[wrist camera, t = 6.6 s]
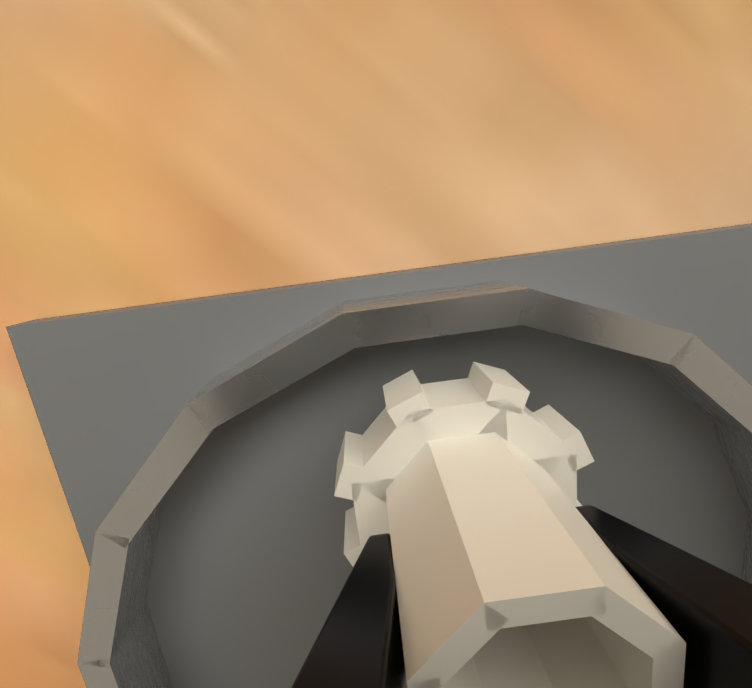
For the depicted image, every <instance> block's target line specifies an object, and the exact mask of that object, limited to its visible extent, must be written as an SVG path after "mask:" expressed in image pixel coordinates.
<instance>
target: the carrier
mask: <svg viewBox="0 0 752 688" xmlns="http://www.w3.org/2000/svg"><path fill="white" fill-rule="evenodd" d="M495 280H501V281H504V282H508V283H512V284H515V285H519V286H522V287H526V288H530V289H533V290H537V291H540V292H544V293H548V294H551V295H555V296H558V297H562V298H566V299H569V300H573V301H576V302H580V303H584V304H587V305H591V306H595V307H598V308H602V309H605V310H609V311H613V312H616V313H620V314H623V315H627V316H631V317H634V318H638V319H641V320H645V321H648V322H652V323H656V324H659V325H663V326H666V327H670V328H673V329H677V330H681V331H684V332H688V333H691V334H694V335H696V336H697V337H698V338H699V339H700V340H701V341H702V342H703V343H704V344H706V345H707V346H708V347H709V348H710V349H711V350H712V351H713V352H714V353H716V354H717V355H718V356H719V357H720V358H721V359H722V360H723V361H724V362H726V363H727V364H728V365H729V366H730V367H731V368H732V369H733V370H735V371H736V372H737V373H738V374H739V375H740V376H741V377H742V378H743V379H745V380H746V381H747V382H748V383H749V384H750V385H751V386H752V224H745V225H737V226H730V227H722V228H715V229H707V230H700V231H693V232H685V233H678V234H670V235H663V236H655V237H648V238H640V239H633V240H625V241H618V242H611V243H603V244H596V245H588V246H581V247H573V248H566V249H558V250H551V251H543V252H536V253H529V254H521V255H514V256H506V257H499V258H491V259H484V260H476V261H469V262H461V263H454V264H447V265H439V266H432V267H424V268H417V269H409V270H402V271H394V272H387V273H379V274H372V275H365V276H357V277H350V278H342V279H335V280H327V281H320V282H312V283H305V284H298V285H290V286H283V287H275V288H268V289H260V290H253V291H245V292H238V293H230V294H223V295H216V296H208V297H201V298H193V299H186V300H178V301H171V302H163V303H156V304H148V305H141V306H134V307H126V308H119V309H111V310H104V311H96V312H89V313H81V314H74V315H66V316H59V317H52V318H44V319H37V320H32V321H28V322H24V323H20V324H16V325H12V326H8V327H6V328H7V331H8V334H9V337H10V340H11V342H12V345H13V348H14V351H15V354H16V357H17V360H18V362H19V365H20V368H21V371H22V374H23V377H24V379H25V382H26V385H27V388H28V391H29V394H30V397H31V399H32V402H33V405H34V408H35V411H36V414H37V417H38V419H39V422H40V425H41V428H42V431H43V434H44V436H45V439H46V442H47V445H48V448H49V451H50V454H51V456H52V459H53V462H54V465H55V468H56V471H57V474H58V476H59V479H60V482H61V485H62V488H63V491H64V494H65V496H66V499H67V502H68V505H69V508H70V511H71V513H72V516H73V519H74V522H75V525H76V528H77V531H78V533H79V536H80V539H81V542H82V545H83V548H84V551H85V553H86V556H87V559H88V562H89V565H90V567H91V560H92V553H93V545H94V538H95V532H96V530H97V529H98V527H99V526H100V525H101V523H102V522H103V520H104V519H105V518H106V516H107V515H108V513H109V512H110V511H111V509H112V508H113V506H114V505H115V504H116V502H117V501H118V499H119V498H120V497H121V495H122V494H123V492H124V491H125V490H126V488H127V487H128V485H129V484H130V483H131V481H132V480H133V478H134V477H135V476H136V474H137V473H138V471H139V470H140V469H141V467H142V466H143V464H144V463H145V462H146V460H147V459H148V457H149V456H150V455H151V453H152V452H153V450H154V449H155V448H156V446H157V445H158V443H159V442H160V441H161V439H162V438H163V436H164V435H165V434H166V432H167V431H168V429H169V428H170V427H171V425H172V424H173V422H174V421H175V420H176V418H177V417H178V415H179V414H180V413H181V411H182V410H183V408H184V407H185V406H186V404H187V403H188V402H189V401H190V400H191V399H192V398H193V397H194V396H195V395H196V394H197V393H198V392H199V391H201V390H202V389H203V388H204V387H205V386H206V385H207V384H208V383H209V382H210V381H211V380H212V379H213V378H214V377H215V376H217V375H218V374H220V373H222V372H223V371H225V370H227V369H229V368H230V367H232V366H234V365H235V364H237V363H239V362H241V361H242V360H244V359H246V358H248V357H249V356H251V355H253V354H254V353H256V352H258V351H260V350H261V349H263V348H265V347H266V346H268V345H270V344H272V343H273V342H275V341H277V340H278V339H280V338H282V337H284V336H285V335H287V334H289V333H290V332H292V331H294V330H296V329H297V328H299V327H301V326H302V325H304V324H306V323H308V322H309V321H311V320H313V319H314V318H316V317H318V316H320V315H321V314H323V313H325V312H326V311H328V310H330V309H332V308H333V307H335V306H337V305H339V304H340V303H342V302H344V301H346V300H354V299H361V298H369V297H376V296H383V295H391V294H398V293H406V292H413V291H421V290H428V289H435V288H443V287H450V286H458V285H465V284H472V283H480V282H487V281H495ZM473 362H477V363H481V364H484V365H488V366H492V367H496V368H500V369H504V370H506V371H507V372H508V373H509V374H510V375H511V376H513V377H514V378H515V379H516V380H517V381H518V382H519V383H521V384H522V385H523V386H524V387H525V388H526V389H527V390H528V391H530V394H529V396H528V399H527V402H526V404H525V407H527V408H528V409H529V410H531V411H532V412H535V411H537V410H539V409H541V408H543V407H544V406H546V405H548V404H549V405H550V406H551V407H552V408H553V409H555V410H556V411H557V412H558V413H559V414H560V415H562V416H563V417H564V418H565V419H566V420H567V421H569V422H570V423H571V424H572V425H573V426H574V427H576V428H577V429H578V430H579V431H580V432H581V434H582V436H583V438H584V440H585V443H586V445H587V447H588V449H589V451H590V453H591V455H592V457H593V459H594V462H592V463H590V464H588V465H586V466H584V467H583V468H581V469H579V470H577V500H578V501H579V502H580V504H581V505H582V506H584V505H591V506H594V507H596V508H598V509H600V510H602V511H604V512H606V513H608V514H610V515H612V516H614V517H616V518H619V519H621V520H623V521H625V522H627V523H629V524H631V525H633V526H635V527H637V528H639V529H641V530H643V531H645V532H647V533H649V534H651V535H653V536H655V537H657V538H659V539H661V540H663V541H665V542H668V543H670V544H672V545H674V546H676V547H678V548H680V549H682V550H684V551H686V552H688V553H690V554H692V555H694V556H696V557H698V558H700V559H702V560H704V561H706V562H708V563H710V564H712V565H714V566H716V567H719V568H721V569H723V570H725V571H727V572H729V573H731V574H733V575H735V576H737V577H739V578H741V574H742V564H743V554H744V544H745V534H746V524H747V513H746V510H745V508H744V505H743V503H742V500H741V497H740V495H739V492H738V490H737V487H736V485H735V482H734V480H733V477H732V475H731V472H730V470H729V467H728V465H727V462H726V460H725V457H724V455H723V452H722V450H721V447H720V445H719V442H718V440H717V437H716V435H715V432H714V430H713V427H712V425H711V422H710V420H709V419H708V418H707V417H706V416H705V415H704V414H702V413H701V412H700V411H699V410H698V409H697V408H695V407H694V406H693V405H692V404H691V403H689V402H688V401H687V400H686V399H685V398H684V397H682V396H681V395H680V394H679V393H678V392H677V391H675V390H674V389H673V388H672V387H671V386H670V385H668V384H667V383H666V382H665V381H664V380H662V379H661V378H660V377H659V376H658V375H657V374H655V373H654V372H653V371H652V370H651V369H650V368H648V367H647V366H646V365H645V364H644V363H643V362H641V361H640V360H639V359H638V358H637V357H635V356H634V355H633V354H630V353H626V352H622V351H619V350H615V349H611V348H607V347H604V346H600V345H596V344H592V343H589V342H585V341H581V340H578V339H574V338H570V337H566V336H563V335H559V334H555V333H551V332H548V331H544V330H540V329H536V328H533V327H529V326H525V325H519V326H512V327H504V328H497V329H490V330H482V331H475V332H467V333H460V334H453V335H445V336H438V337H431V338H423V339H416V340H409V341H401V342H394V343H387V344H379V345H372V346H365V347H357V348H354V349H352V350H350V351H349V352H347V353H345V354H343V355H342V356H340V357H338V358H336V359H335V360H333V361H331V362H329V363H328V364H326V365H324V366H322V367H321V368H319V369H317V370H315V371H314V372H312V373H310V374H308V375H307V376H305V377H303V378H301V379H300V380H298V381H296V382H294V383H293V384H291V385H289V386H287V387H286V388H284V389H282V390H280V391H279V392H277V393H275V394H273V395H271V396H270V397H268V398H266V399H264V400H263V401H261V402H259V403H257V404H256V405H254V406H252V407H250V408H249V409H247V410H245V411H243V412H242V413H240V414H238V415H236V416H235V417H233V418H231V419H229V420H228V421H226V422H224V423H222V424H221V425H219V426H217V427H215V428H214V429H213V431H212V432H211V433H210V435H209V436H208V437H207V439H206V440H205V441H204V443H203V444H202V446H201V447H200V448H199V450H198V451H197V452H196V454H195V455H194V456H193V458H192V459H191V460H190V462H189V463H188V465H187V466H186V467H185V469H184V470H183V471H182V473H181V474H180V475H179V477H178V478H177V479H176V481H175V482H174V484H173V485H172V486H171V488H170V489H169V490H168V492H167V493H166V494H165V496H164V501H163V507H162V513H161V519H160V524H159V530H158V536H157V541H156V547H155V553H154V559H153V564H152V570H151V576H150V581H149V587H148V593H147V598H146V602H147V605H148V608H149V611H150V614H151V618H152V621H153V624H154V627H155V630H156V633H157V636H158V639H159V643H160V646H161V649H162V652H163V655H164V658H165V661H166V664H167V668H168V671H169V674H170V677H171V680H172V683H173V686H174V688H291V687H292V685H293V683H294V681H295V679H296V677H297V675H298V673H299V671H300V670H301V668H302V666H303V664H304V662H305V660H306V658H307V656H308V654H309V652H310V650H311V648H312V646H313V644H314V642H315V640H316V639H317V637H318V635H319V633H320V631H321V629H322V627H323V625H324V623H325V621H326V619H327V617H328V615H329V613H330V611H331V609H332V608H333V606H334V604H335V602H336V600H337V598H338V596H339V594H340V592H341V590H342V588H343V586H344V584H345V582H346V580H347V578H348V577H349V575H350V573H351V571H352V569H353V566H352V565H351V563H350V562H349V561H348V559H347V558H346V556H345V555H344V536H345V513H346V511H347V510H349V509H351V508H353V507H354V501H353V500H350V499H345V498H341V497H336V496H334V492H335V481H336V470H337V460H338V456H339V453H340V449H341V446H342V442H343V439H344V435H345V431H348V432H352V433H356V434H360V435H363V434H364V432H365V431H366V430H367V429H368V428H369V426H370V425H371V424H372V423H373V422H374V420H375V419H376V418H377V417H378V416H379V414H380V413H381V412H382V411H383V409H384V408H385V407H386V403H385V397H384V391H383V385H385V384H387V383H389V382H391V381H392V380H394V379H396V378H398V377H400V376H401V375H403V374H405V373H407V372H409V371H411V370H413V372H414V373H415V375H416V377H417V379H418V380H419V382H420V384H426V383H433V382H441V381H448V380H456V379H464V378H468V376H469V373H470V370H471V367H472V364H473Z"/></svg>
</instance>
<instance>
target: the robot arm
mask: <svg viewBox="0 0 752 688" xmlns="http://www.w3.org/2000/svg"><path fill="white" fill-rule="evenodd" d="M576 508H577V510H578V511H579V512H580V513H581V515H582V516H583V517H584V518H585V520H586V521H587V522H588V523H589V524H590V526H591V527H592V528H593V529H594V531H595V532H596V533H597V534H598V536H599V537H600V538H601V539H602V541H603V542H604V543H605V544H606V546H607V547H608V548H609V549H610V550H611V552H612V553H613V554H614V555H615V556H616V558H617V559H618V560H619V561H620V562H621V564H622V565H623V566H624V567H625V569H626V570H627V571H628V572H629V573H630V575H631V576H632V577H633V578H634V580H635V581H636V582H637V583H638V584H639V586H640V587H641V588H642V589H643V591H644V592H645V593H646V594H647V595H648V597H649V598H650V599H651V600H652V602H653V603H654V604H655V605H656V607H657V608H658V609H659V610H660V611H661V613H662V614H663V615H664V616H665V618H666V619H667V620H668V621H669V622H670V624H671V625H672V626H673V627H674V629H675V630H676V631H677V632H678V633H679V635H680V636H681V637H682V638H683V640H684V641H685V642H686V655H685V669H684V684H683V688H752V584H751V583H749V582H747V581H745V580H743V579H741V578H739V577H737V576H735V575H733V574H731V573H729V572H727V571H725V570H723V569H721V568H719V567H716V566H714V565H712V564H710V563H708V562H706V561H704V560H702V559H700V558H698V557H696V556H694V555H692V554H690V553H688V552H686V551H684V550H682V549H680V548H678V547H676V546H674V545H672V544H670V543H668V542H665V541H663V540H661V539H659V538H657V537H655V536H653V535H651V534H649V533H647V532H645V531H643V530H641V529H639V528H637V527H635V526H633V525H631V524H629V523H627V522H625V521H623V520H621V519H619V518H616V517H614V516H612V515H610V514H608V513H606V512H604V511H602V510H600V509H598V508H596V507H594V506H591V505H584V506H577V507H576ZM291 688H407V680H406V671H405V662H404V653H403V644H402V635H401V626H400V618H399V609H398V600H397V591H396V579H395V570H394V564H393V555H392V546H391V537H390V534H389V533H385V534H377V535H372V536H370V537H369V538H368V540H367V542H366V544H365V546H364V547H363V549H362V551H361V553H360V555H359V557H358V559H357V561H356V563H355V565H354V567H353V569H352V571H351V573H350V575H349V577H348V578H347V580H346V582H345V584H344V586H343V588H342V590H341V592H340V594H339V596H338V598H337V600H336V602H335V604H334V606H333V608H332V609H331V611H330V613H329V615H328V617H327V619H326V621H325V623H324V625H323V627H322V629H321V631H320V633H319V635H318V637H317V639H316V640H315V642H314V644H313V646H312V648H311V650H310V652H309V654H308V656H307V658H306V660H305V662H304V664H303V666H302V668H301V670H300V671H299V673H298V675H297V677H296V679H295V681H294V683H293V685H292V687H291Z"/></svg>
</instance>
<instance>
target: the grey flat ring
mask: <svg viewBox="0 0 752 688" xmlns="http://www.w3.org/2000/svg"><path fill="white" fill-rule="evenodd" d="M519 325H525V326H529V327H533V328H536V329H540V330H544V331H548V332H551V333H555V334H559V335H563V336H566V337H570V338H574V339H578V340H581V341H585V342H589V343H592V344H596V345H600V346H604V347H607V348H611V349H615V350H619V351H622V352H626V353H630V354H633V355H634V356H635V357H637V358H638V359H639V360H640V361H641V362H643V363H644V364H645V365H646V366H647V367H648V368H650V369H651V370H652V371H653V372H654V373H655V374H657V375H658V376H659V377H660V378H661V379H662V380H664V381H665V382H666V383H667V384H668V385H670V386H671V387H672V388H673V389H674V390H675V391H677V392H678V393H679V394H680V395H681V396H682V397H684V398H685V399H686V400H687V401H688V402H689V403H691V404H692V405H693V406H694V407H695V408H697V409H698V410H699V411H700V412H701V413H702V414H704V415H705V416H706V417H707V418H708V419H709V420H710V422H711V425H712V427H713V430H714V432H715V435H716V437H717V440H718V442H719V445H720V447H721V450H722V452H723V455H724V457H725V460H726V462H727V465H728V467H729V470H730V472H731V475H732V477H733V480H734V482H735V485H736V487H737V490H738V492H739V495H740V497H741V500H742V503H743V505H744V508H745V510H746V513H747V524H746V534H745V544H744V554H743V564H742V574H741V579H743V580H745V581H747V582H749V583H751V584H752V386H751V385H750V384H749V383H748V382H747V381H746V380H745V379H743V378H742V377H741V376H740V375H739V374H738V373H737V372H736V371H735V370H733V369H732V368H731V367H730V366H729V365H728V364H727V363H726V362H724V361H723V360H722V359H721V358H720V357H719V356H718V355H717V354H716V353H714V352H713V351H712V350H711V349H710V348H709V347H708V346H707V345H706V344H704V343H703V342H702V341H701V340H700V339H699V338H698V337H697V336H696V335H694V334H691V333H688V332H684V331H681V330H677V329H673V328H670V327H666V326H663V325H659V324H656V323H652V322H648V321H645V320H641V319H638V318H634V317H631V316H627V315H623V314H620V313H616V312H613V311H609V310H605V309H602V308H598V307H595V306H591V305H587V304H584V303H580V302H576V301H573V300H569V299H566V298H562V297H558V296H555V295H551V294H548V293H544V292H540V291H537V290H533V289H530V288H526V287H522V286H519V285H515V284H512V283H508V282H504V281H501V280H495V281H487V282H480V283H472V284H465V285H458V286H450V287H443V288H435V289H428V290H421V291H413V292H406V293H398V294H391V295H383V296H376V297H369V298H361V299H354V300H346V301H344V302H342V303H340V304H339V305H337V306H335V307H333V308H332V309H330V310H328V311H326V312H325V313H323V314H321V315H320V316H318V317H316V318H314V319H313V320H311V321H309V322H308V323H306V324H304V325H302V326H301V327H299V328H297V329H296V330H294V331H292V332H290V333H289V334H287V335H285V336H284V337H282V338H280V339H278V340H277V341H275V342H273V343H272V344H270V345H268V346H266V347H265V348H263V349H261V350H260V351H258V352H256V353H254V354H253V355H251V356H249V357H248V358H246V359H244V360H242V361H241V362H239V363H237V364H235V365H234V366H232V367H230V368H229V369H227V370H225V371H223V372H222V373H220V374H218V375H217V376H215V377H214V378H213V379H212V380H211V381H210V382H209V383H208V384H207V385H206V386H205V387H204V388H203V389H202V390H201V391H199V392H198V393H197V394H196V395H195V396H194V397H193V398H192V399H191V400H190V401H189V402H188V403H187V404H186V406H185V407H184V408H183V410H182V411H181V413H180V414H179V415H178V417H177V418H176V420H175V421H174V422H173V424H172V425H171V427H170V428H169V429H168V431H167V432H166V434H165V435H164V436H163V438H162V439H161V441H160V442H159V443H158V445H157V446H156V448H155V449H154V450H153V452H152V453H151V455H150V456H149V457H148V459H147V460H146V462H145V463H144V464H143V466H142V467H141V469H140V470H139V471H138V473H137V474H136V476H135V477H134V478H133V480H132V481H131V483H130V484H129V485H128V487H127V488H126V490H125V491H124V492H123V494H122V495H121V497H120V498H119V499H118V501H117V502H116V504H115V505H114V506H113V508H112V509H111V511H110V512H109V513H108V515H107V516H106V518H105V519H104V520H103V522H102V523H101V525H100V526H99V527H98V529H97V530H96V532H95V538H94V545H93V553H92V560H91V567H90V575H89V582H88V589H87V597H86V604H85V611H84V619H83V626H82V633H81V641H80V648H79V655H78V666H79V669H80V671H81V674H82V676H83V679H84V682H85V684H86V687H87V688H174V686H173V683H172V680H171V677H170V674H169V671H168V668H167V664H166V661H165V658H164V655H163V652H162V649H161V646H160V643H159V639H158V636H157V633H156V630H155V627H154V624H153V621H152V618H151V614H150V611H149V608H148V605H147V602H146V598H147V593H148V587H149V581H150V576H151V570H152V564H153V559H154V553H155V547H156V541H157V536H158V530H159V524H160V519H161V513H162V507H163V501H164V496H165V494H166V493H167V492H168V490H169V489H170V488H171V486H172V485H173V484H174V482H175V481H176V479H177V478H178V477H179V475H180V474H181V473H182V471H183V470H184V469H185V467H186V466H187V465H188V463H189V462H190V460H191V459H192V458H193V456H194V455H195V454H196V452H197V451H198V450H199V448H200V447H201V446H202V444H203V443H204V441H205V440H206V439H207V437H208V436H209V435H210V433H211V432H212V431H213V429H214V428H215V427H217V426H219V425H221V424H222V423H224V422H226V421H228V420H229V419H231V418H233V417H235V416H236V415H238V414H240V413H242V412H243V411H245V410H247V409H249V408H250V407H252V406H254V405H256V404H257V403H259V402H261V401H263V400H264V399H266V398H268V397H270V396H271V395H273V394H275V393H277V392H279V391H280V390H282V389H284V388H286V387H287V386H289V385H291V384H293V383H294V382H296V381H298V380H300V379H301V378H303V377H305V376H307V375H308V374H310V373H312V372H314V371H315V370H317V369H319V368H321V367H322V366H324V365H326V364H328V363H329V362H331V361H333V360H335V359H336V358H338V357H340V356H342V355H343V354H345V353H347V352H349V351H350V350H352V349H354V348H357V347H365V346H372V345H379V344H387V343H394V342H401V341H409V340H416V339H423V338H431V337H438V336H445V335H453V334H460V333H467V332H475V331H482V330H490V329H497V328H504V327H512V326H519Z"/></svg>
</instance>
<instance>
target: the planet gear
mask: <svg viewBox="0 0 752 688" xmlns="http://www.w3.org/2000/svg"><path fill="white" fill-rule="evenodd" d="M383 391H384V397H385V403H386V407H385V408H384V409H383V411H382V412H381V413H380V414H379V416H378V417H377V418H376V419H375V420H374V422H373V423H372V424H371V425H370V426H369V428H368V429H367V430H366V431H365V432H364V434H363V435H360V434H356V433H352V432H348V431H345V435H344V439H343V442H342V446H341V449H340V453H339V456H338V460H337V470H336V481H335V492H334V496H336V497H341V498H345V499H350V500H353V501H354V507H353V508H351V509H349V510H347V511H346V513H345V536H344V555H345V556H346V558H347V559H348V561H349V562H350V563H351V565H352V566H353V567H354V565H355V563H356V561H357V559H358V557H359V555H360V553H361V551H362V549H363V547H364V546H365V544H366V542H367V540H368V538H369V537H370V536H372V535H377V534H385V533H389V534H390V537H391V546H392V555H393V564H394V570H395V579H396V591H397V600H398V609H399V618H400V626H401V635H402V644H403V653H404V662H405V671H406V680H407V688H683V684H684V669H685V655H686V642H685V641H684V640H683V638H682V637H681V636H680V635H679V633H678V632H677V631H676V630H675V629H674V627H673V626H672V625H671V624H670V622H669V621H668V620H667V619H666V618H665V616H664V615H663V614H662V613H661V611H660V610H659V609H658V608H657V607H656V605H655V604H654V603H653V602H652V600H651V599H650V598H649V597H648V595H647V594H646V593H645V592H644V591H643V589H642V588H641V587H640V586H639V584H638V583H637V582H636V581H635V580H634V578H633V577H632V576H631V575H630V573H629V572H628V571H627V570H626V569H625V567H624V566H623V565H622V564H621V562H620V561H619V560H618V559H617V558H616V556H615V555H614V554H613V553H612V552H611V550H610V549H609V548H608V547H607V546H606V544H605V543H604V542H603V541H602V539H601V538H600V537H599V536H598V534H597V533H596V532H595V531H594V529H593V528H592V527H591V526H590V524H589V523H588V522H587V521H586V520H585V518H584V517H583V516H582V515H581V513H580V512H579V511H578V510H577V508H576V507H577V506H582V505H581V504H580V502H579V501H578V500H577V470H579V469H581V468H583V467H584V466H586V465H588V464H590V463H592V462H594V459H593V457H592V455H591V453H590V451H589V449H588V447H587V445H586V443H585V440H584V438H583V436H582V434H581V432H580V431H579V430H578V429H577V428H576V427H574V426H573V425H572V424H571V423H570V422H569V421H567V420H566V419H565V418H564V417H563V416H562V415H560V414H559V413H558V412H557V411H556V410H555V409H553V408H552V407H551V406H550V405H549V404H548V405H546V406H544V407H543V408H541V409H539V410H537V411H535V412H532V411H531V410H529V409H528V408H527V407H525V404H526V402H527V399H528V396H529V394H530V391H528V390H527V389H526V388H525V387H524V386H523V385H522V384H521V383H519V382H518V381H517V380H516V379H515V378H514V377H513V376H511V375H510V374H509V373H508V372H507V371H506V370H504V369H500V368H496V367H492V366H488V365H484V364H481V363H477V362H473V364H472V367H471V370H470V373H469V376H468V378H464V379H456V380H448V381H441V382H433V383H426V384H420V382H419V380H418V379H417V377H416V375H415V373H414V372H413V370H411V371H409V372H407V373H405V374H403V375H401V376H400V377H398V378H396V379H394V380H392V381H391V382H389V383H387V384H385V385H383Z"/></svg>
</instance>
